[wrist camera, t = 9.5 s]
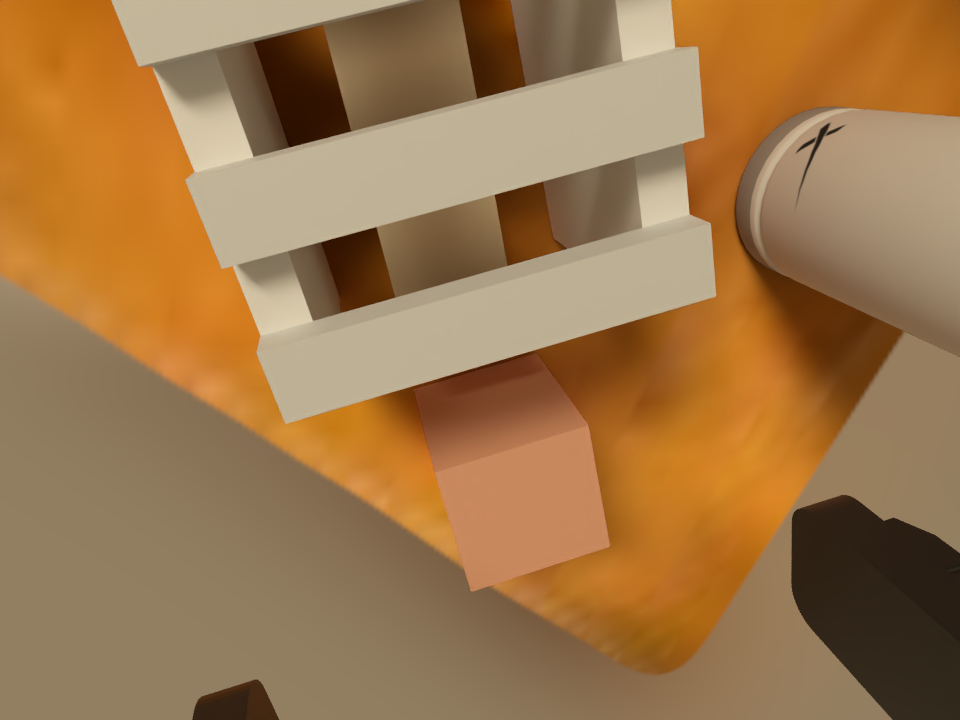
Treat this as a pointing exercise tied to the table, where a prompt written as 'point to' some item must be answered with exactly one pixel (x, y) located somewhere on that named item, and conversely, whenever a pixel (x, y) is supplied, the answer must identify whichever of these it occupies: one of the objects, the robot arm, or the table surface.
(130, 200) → the table surface
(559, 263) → the tunnel
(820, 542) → the robot arm
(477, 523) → the block
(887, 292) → the travel mug
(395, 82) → the rod
